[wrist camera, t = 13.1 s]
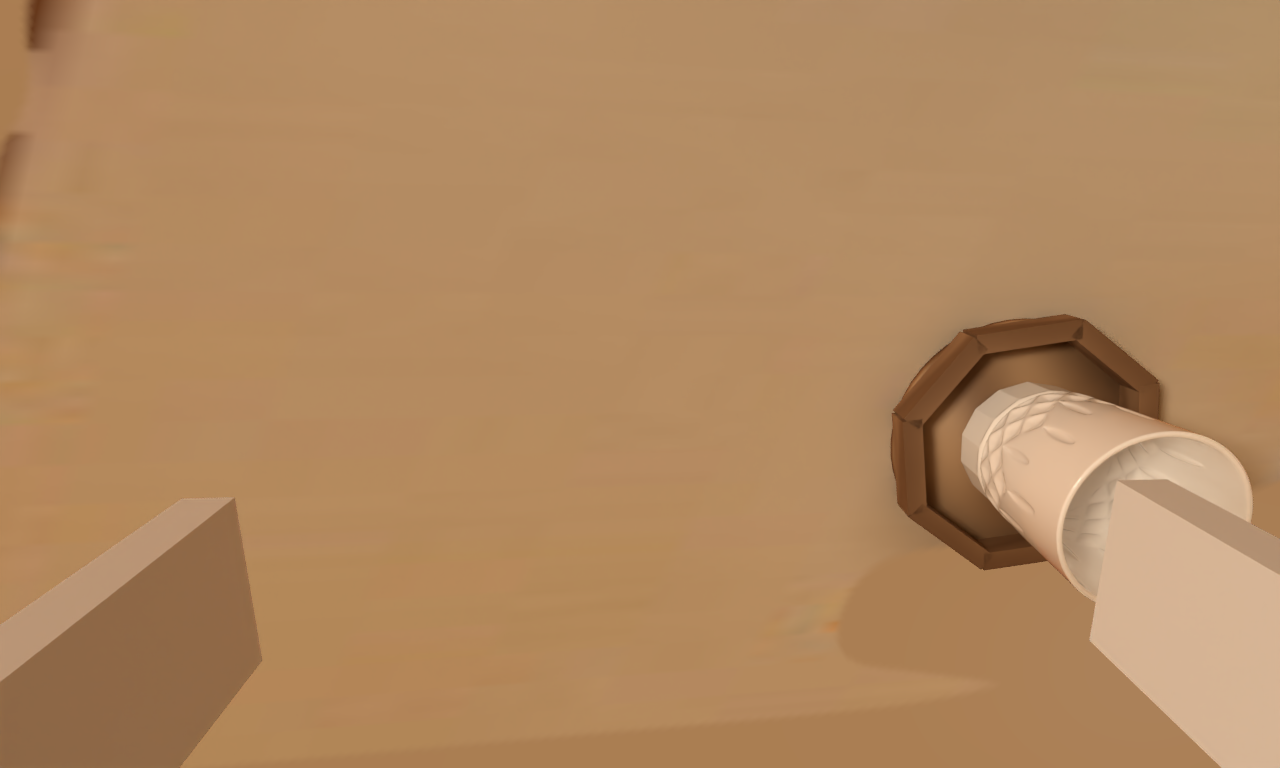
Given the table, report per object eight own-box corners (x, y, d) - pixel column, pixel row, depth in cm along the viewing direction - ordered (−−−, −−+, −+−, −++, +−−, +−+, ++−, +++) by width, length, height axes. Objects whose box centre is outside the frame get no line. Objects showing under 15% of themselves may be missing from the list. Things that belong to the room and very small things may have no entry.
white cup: (1115, 466, 39) (1278, 556, 29) (981, 534, 40) (1097, 643, 30) (1063, 342, 37) (1218, 395, 27) (924, 416, 38) (1027, 492, 28)
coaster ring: (1006, 268, 37) (1029, 272, 35) (1179, 411, 39) (1210, 423, 37) (841, 462, 39) (853, 477, 37) (1012, 586, 41) (1032, 606, 39)
